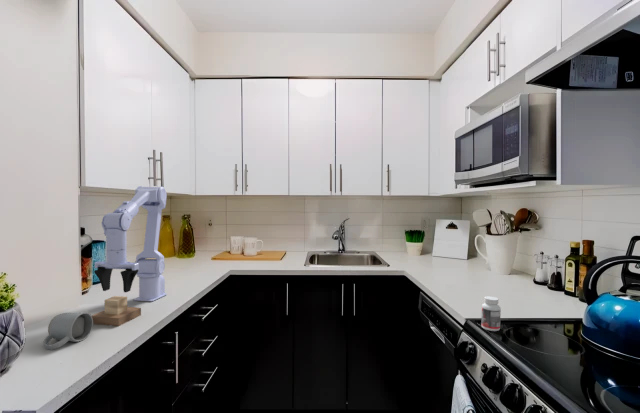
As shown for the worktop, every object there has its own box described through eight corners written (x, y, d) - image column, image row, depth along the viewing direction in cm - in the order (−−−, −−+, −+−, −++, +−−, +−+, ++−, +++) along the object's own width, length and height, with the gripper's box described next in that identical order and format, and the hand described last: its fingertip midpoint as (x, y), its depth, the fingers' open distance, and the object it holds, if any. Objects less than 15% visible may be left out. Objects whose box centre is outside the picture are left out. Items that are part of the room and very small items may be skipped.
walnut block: (115, 314, 116) (115, 305, 116) (140, 316, 114) (140, 307, 114) (90, 325, 106) (90, 315, 106) (118, 327, 104) (118, 318, 104)
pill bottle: (477, 325, 110) (478, 295, 110) (493, 324, 110) (494, 295, 110) (487, 331, 104) (488, 300, 104) (503, 331, 105) (504, 300, 105)
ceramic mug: (68, 333, 99) (67, 307, 98) (94, 334, 98) (93, 308, 97) (33, 350, 88) (33, 321, 88) (62, 352, 87) (61, 323, 87)
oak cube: (114, 309, 112) (114, 295, 112) (127, 310, 112) (127, 296, 111) (104, 313, 108) (104, 300, 107) (117, 314, 107) (117, 300, 107)
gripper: (86, 250, 106) (86, 292, 107) (127, 252, 104) (127, 295, 105) (104, 247, 113) (104, 287, 114) (143, 248, 111) (143, 289, 111)
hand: (116, 290), depth 110 cm, fingers open, 7 cm apart
